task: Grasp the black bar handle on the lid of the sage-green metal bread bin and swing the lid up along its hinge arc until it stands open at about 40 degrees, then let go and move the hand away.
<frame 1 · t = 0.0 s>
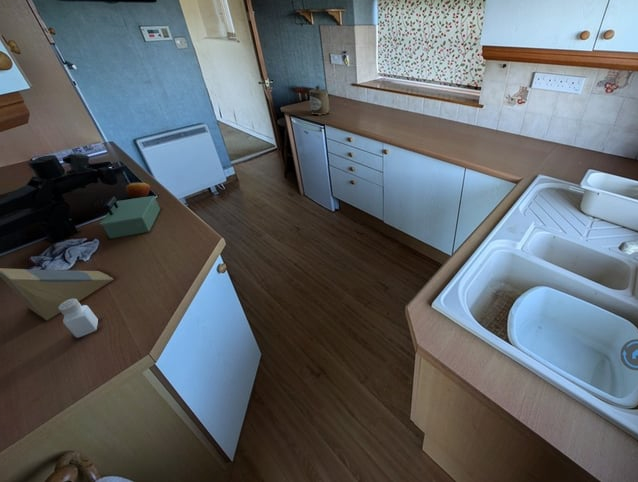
hand: (118, 164, 116), 17 cm above the worktop, tool horizontal, fingers open, 9 cm apart
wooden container: (320, 113, 242), on the worktop
sandwich container: (75, 293, 82), on the worktop
bread bin: (137, 222, 110), on the worktop
fruit: (141, 197, 126), on the worktop
bin lid: (126, 204, 106), point 8 cm above the worktop, hinge at 0.0°
pepper shaker: (88, 329, 73), on the worktop
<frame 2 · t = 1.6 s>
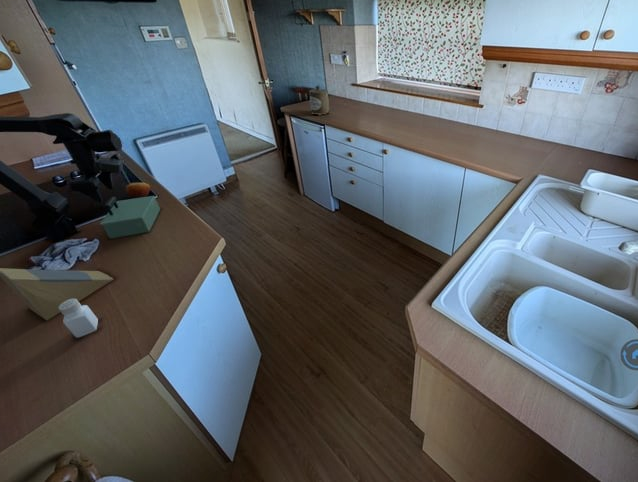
hand: (106, 195, 102), 13 cm above the worktop, tool pointing down, fingers open, 9 cm apart
nothing on the worktop moved.
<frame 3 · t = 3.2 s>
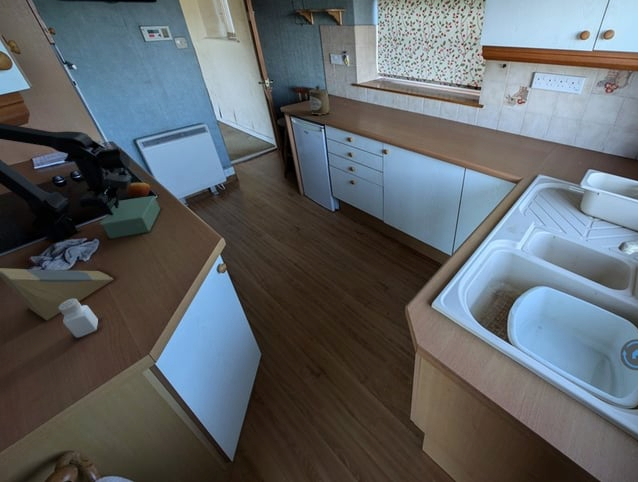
hand: (113, 209, 105), 7 cm above the worktop, tool pointing down, fingers closed on bin lid, 6 cm apart
bin lid: (126, 204, 106), point 8 cm above the worktop, hinge at 0.0°, touching gripper
everything else where it was.
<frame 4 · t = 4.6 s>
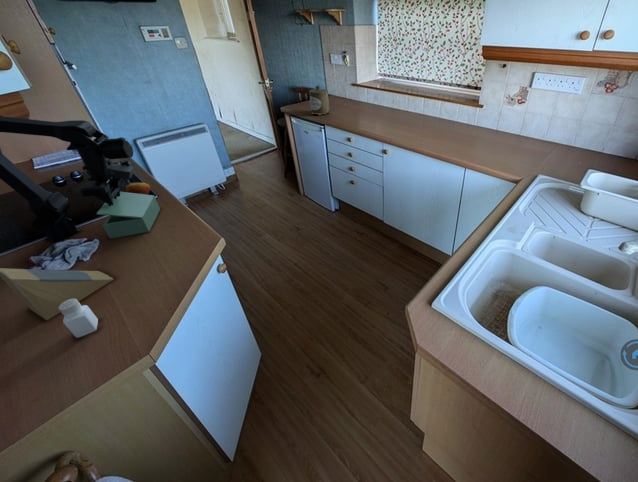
hand: (115, 200, 104), 11 cm above the worktop, tool pointing down, fingers closed on bin lid, 6 cm apart
bin lid: (128, 199, 105), point 10 cm above the worktop, hinge at 21.3°, touching gripper
everything else where it was.
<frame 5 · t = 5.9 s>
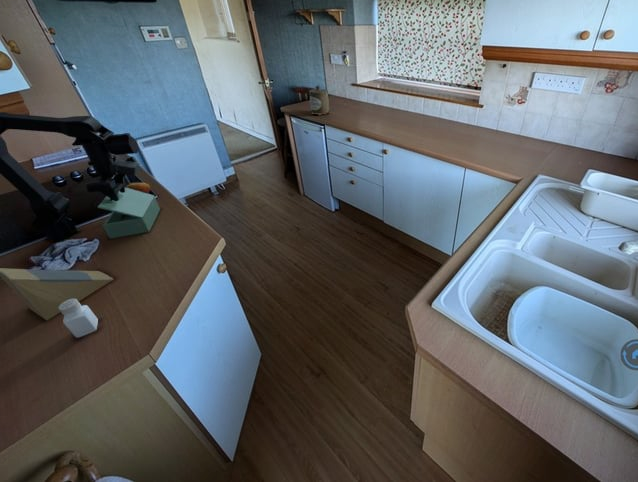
hand: (120, 196, 104), 12 cm above the worktop, tool pointing down, fingers closed on bin lid, 6 cm apart
bin lid: (130, 196, 105), point 11 cm above the worktop, hinge at 34.3°, touching gripper
everything else where it was.
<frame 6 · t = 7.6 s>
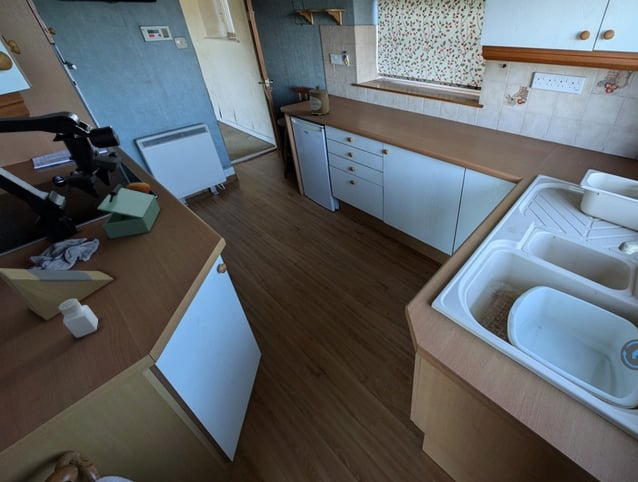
hand: (103, 191, 105), 13 cm above the worktop, tool pointing down, fingers open, 9 cm apart
bin lid: (129, 196, 105), point 11 cm above the worktop, hinge at 31.0°
everything else where it was.
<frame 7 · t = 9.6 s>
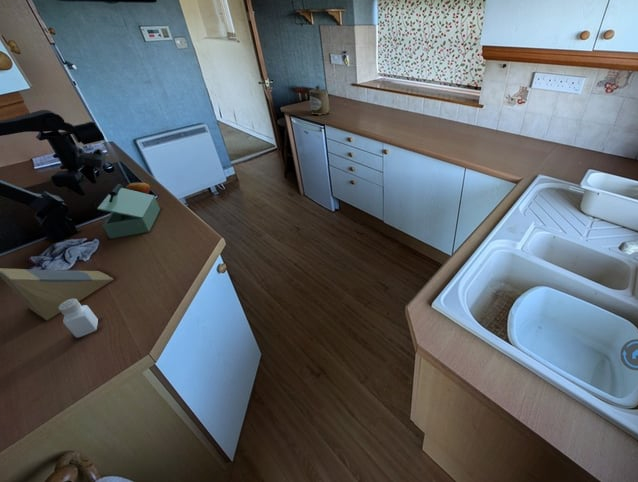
hand: (89, 189, 106), 13 cm above the worktop, tool pointing down, fingers open, 9 cm apart
nothing on the worktop moved.
at the end: bin lid at +31° (first picture: +0°) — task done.
